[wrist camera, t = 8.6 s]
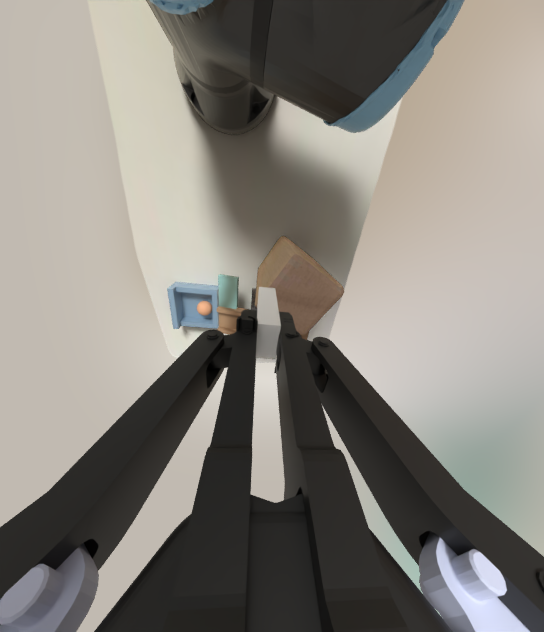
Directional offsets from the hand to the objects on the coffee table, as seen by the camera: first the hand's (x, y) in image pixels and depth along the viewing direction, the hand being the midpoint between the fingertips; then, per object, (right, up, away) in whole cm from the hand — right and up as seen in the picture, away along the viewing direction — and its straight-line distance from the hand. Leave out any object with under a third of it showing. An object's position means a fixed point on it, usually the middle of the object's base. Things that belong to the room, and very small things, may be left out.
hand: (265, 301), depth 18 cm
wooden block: (+4, +11, +27) cm, 29 cm away
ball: (-16, +1, +29) cm, 33 cm away
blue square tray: (-18, +2, +31) cm, 36 cm away
